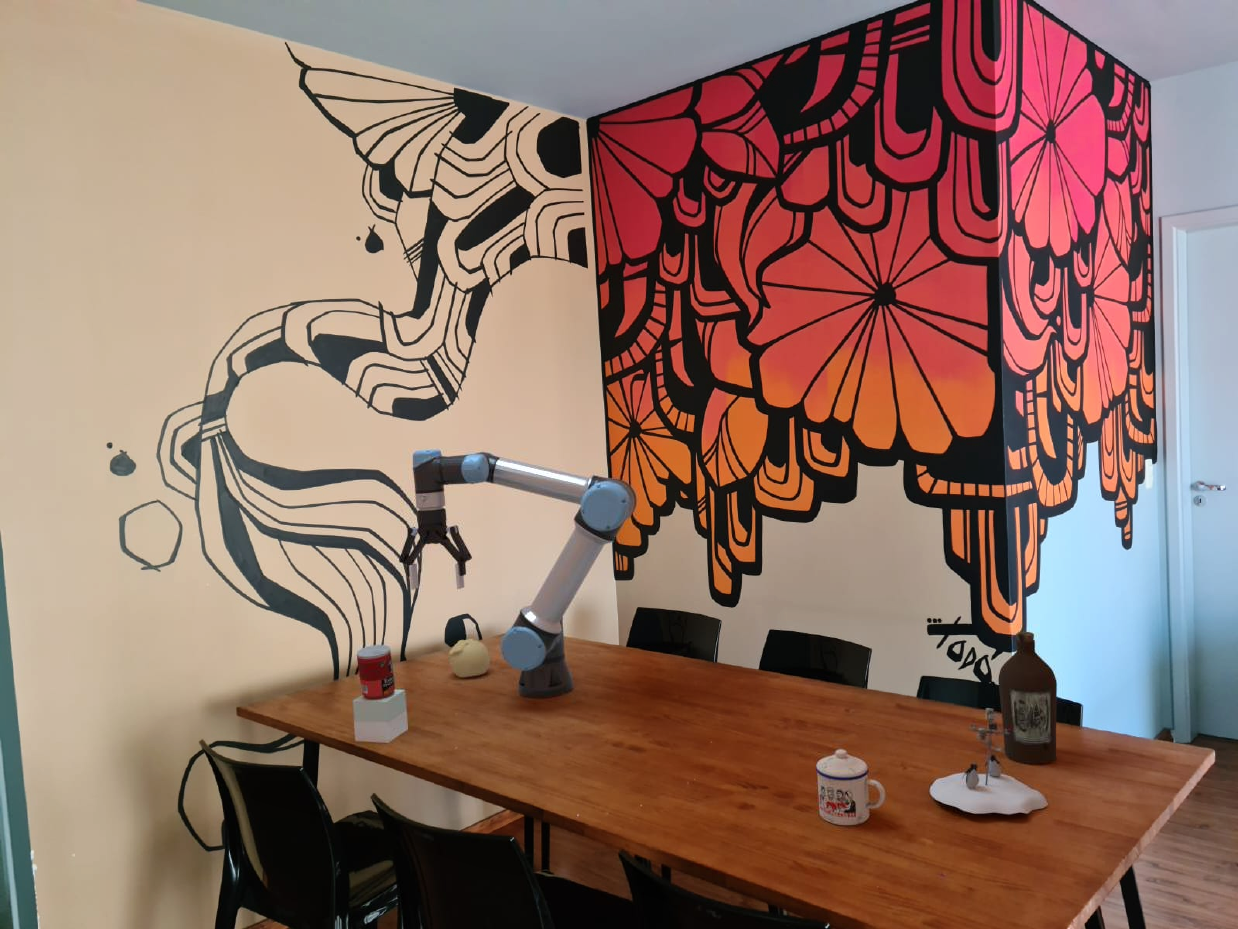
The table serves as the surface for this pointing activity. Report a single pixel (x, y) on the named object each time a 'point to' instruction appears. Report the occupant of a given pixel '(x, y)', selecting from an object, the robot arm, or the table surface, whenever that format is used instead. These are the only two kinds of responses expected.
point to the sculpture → (469, 658)
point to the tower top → (379, 707)
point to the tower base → (381, 729)
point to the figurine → (987, 784)
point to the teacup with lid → (845, 789)
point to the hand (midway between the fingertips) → (437, 588)
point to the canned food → (376, 671)
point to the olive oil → (1028, 704)
